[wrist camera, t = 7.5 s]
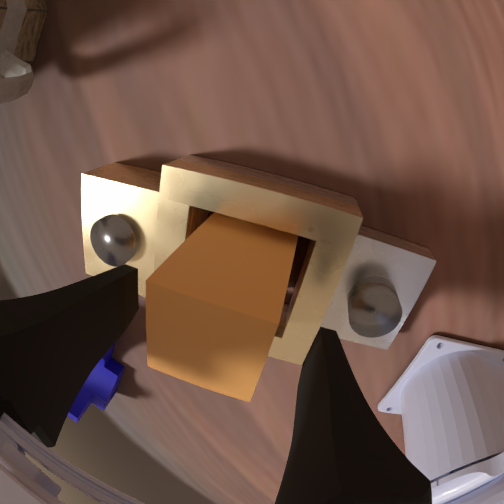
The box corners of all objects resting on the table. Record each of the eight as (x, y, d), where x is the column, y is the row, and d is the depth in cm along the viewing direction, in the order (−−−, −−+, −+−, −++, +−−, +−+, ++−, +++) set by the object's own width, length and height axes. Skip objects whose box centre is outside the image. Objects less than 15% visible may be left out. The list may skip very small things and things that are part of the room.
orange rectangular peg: (300, 222, 15) (278, 323, 8) (281, 287, 17) (249, 402, 10) (225, 201, 16) (145, 280, 8) (213, 267, 17) (147, 365, 10)
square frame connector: (437, 227, 13) (463, 258, 10) (375, 347, 17) (380, 390, 14) (116, 141, 15) (74, 152, 12) (113, 267, 19) (82, 294, 16)
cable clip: (116, 390, 27) (89, 431, 22) (83, 367, 27) (53, 404, 22) (139, 328, 22) (98, 382, 16) (93, 296, 21) (46, 342, 16)
